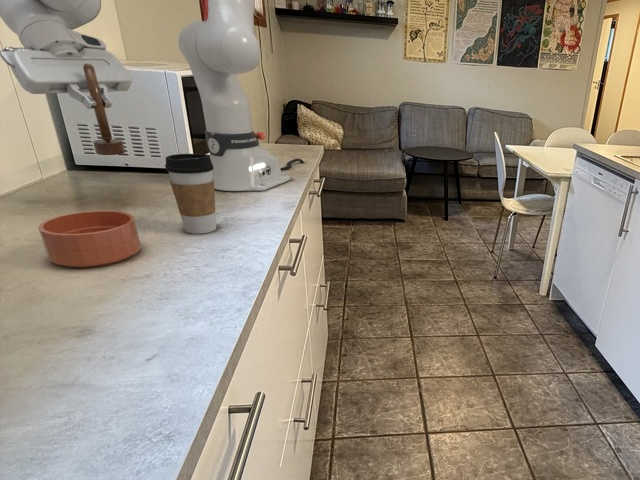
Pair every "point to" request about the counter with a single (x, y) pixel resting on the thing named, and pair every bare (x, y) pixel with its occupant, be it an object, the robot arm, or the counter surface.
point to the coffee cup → (193, 190)
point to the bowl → (90, 238)
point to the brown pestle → (101, 118)
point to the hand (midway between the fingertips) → (100, 106)
